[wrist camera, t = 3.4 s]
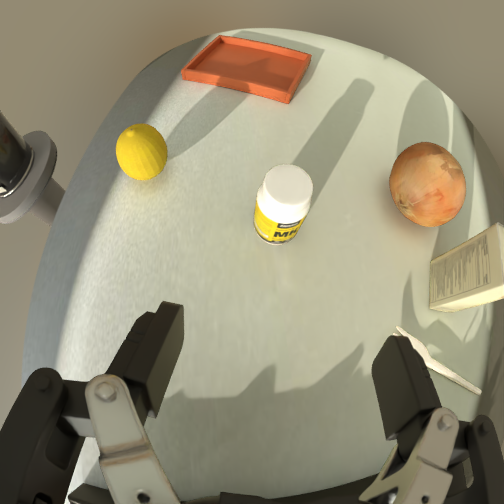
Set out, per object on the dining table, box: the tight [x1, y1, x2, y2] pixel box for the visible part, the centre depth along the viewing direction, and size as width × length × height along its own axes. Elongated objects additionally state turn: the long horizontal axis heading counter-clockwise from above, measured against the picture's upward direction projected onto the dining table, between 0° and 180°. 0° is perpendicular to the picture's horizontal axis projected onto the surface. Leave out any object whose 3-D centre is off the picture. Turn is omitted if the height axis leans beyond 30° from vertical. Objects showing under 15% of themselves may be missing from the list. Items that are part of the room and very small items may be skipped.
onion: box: [389, 142, 466, 227], centre depth 26 cm, size 10×10×10 cm
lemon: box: [116, 124, 167, 180], centre depth 27 cm, size 6×6×8 cm
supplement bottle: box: [254, 164, 313, 245], centre depth 25 cm, size 5×5×8 cm
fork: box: [393, 326, 482, 395], centre depth 24 cm, size 3×20×2 cm, turn 58°
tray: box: [181, 35, 312, 104], centre depth 36 cm, size 17×13×2 cm
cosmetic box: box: [429, 223, 504, 312], centre depth 22 cm, size 6×4×12 cm
